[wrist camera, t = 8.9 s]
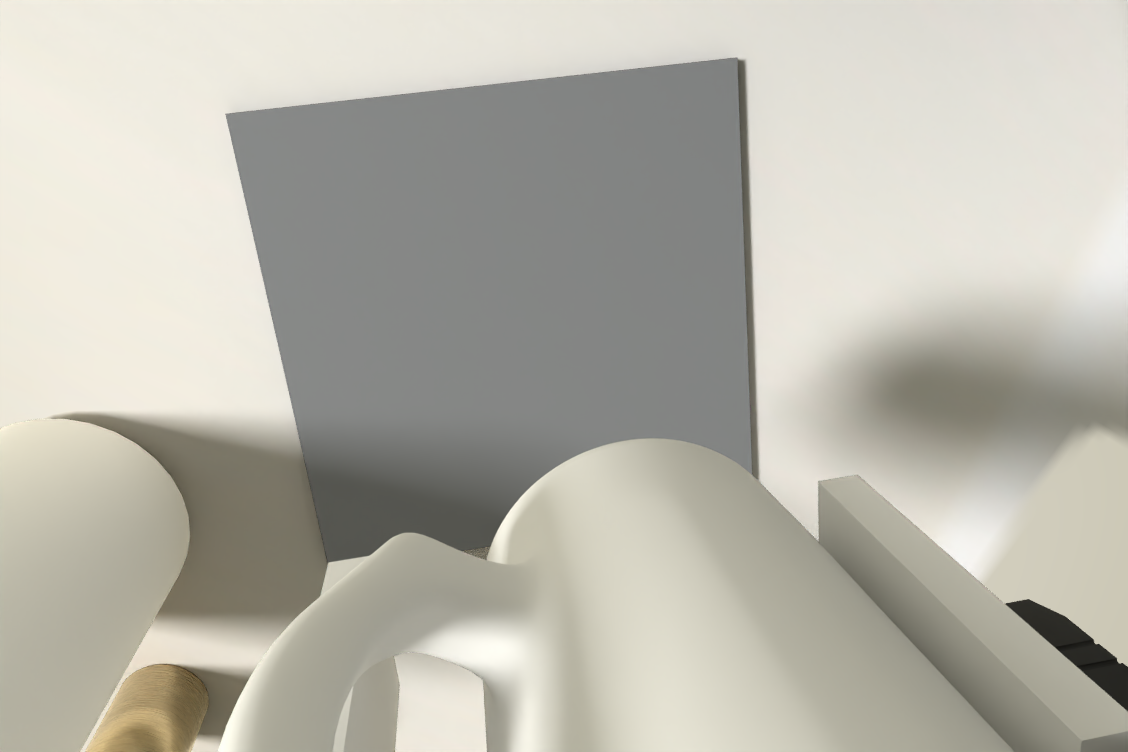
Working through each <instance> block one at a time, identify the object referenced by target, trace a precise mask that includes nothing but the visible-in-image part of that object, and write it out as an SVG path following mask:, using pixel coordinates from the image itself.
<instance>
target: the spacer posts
mask: <svg viewBox="0 0 1128 752" xmlns="http://www.w3.org/2000/svg"><path fill="white" fill-rule="evenodd" d="M208 703H209V698H208V693H207V690H206V688H205V686H204V684H203V683H202V682H201V680H200V679H199V678H198V677H197V676H195V675H194V674H193V673H191V672H189V671H188V670H186V669H183V668H181V667H177V666H173V665H152V666H147V667H144V668H142V669H139V670H137V671H136V672H134V673H133V674H131V675H130V676H129V677H128V678H127V679H126V680H125V681H124V683H123V684H122V686H121V688H120V690H119V691H118V693H117V695H116V697H115V699H114V700H113V702H112V704H111V706H110V708H109V709H108V711H107V713H106V715H105V717H104V718H103V720H102V722H101V724H100V726H99V728H98V729H97V731H96V733H95V735H94V737H93V738H92V740H91V742H90V744H89V746H88V747H87V749H86V751H85V752H191V750H192V748H193V745H194V743H195V740H196V737H197V735H198V732H199V730H200V727H201V725H202V722H203V719H204V717H205V714H206V712H207V709H208Z"/></svg>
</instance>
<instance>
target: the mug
mask: <svg viewBox="0 0 1128 752" xmlns="http://www.w3.org/2000/svg"><path fill="white" fill-rule="evenodd" d="M407 652H412V653H422V654H427V655H431V656H434V657H438V658H441V659H443V660H446V661H449V662H451V663H454V664H457V665H459V666H461V667H463V668H465V669H467V670H469V671H472V672H473V673H474V674H476V675H477V676H478V677H480V678H481V679H483V688H484V706H485V724H486V742H487V752H1014V750H1013V749H1012V748H1011V747H1010V746H1009V745H1008V744H1007V743H1006V742H1005V741H1004V740H1003V739H1002V738H1001V737H1000V736H999V735H998V733H997V732H996V731H995V730H994V729H993V728H992V727H991V726H990V725H989V724H988V723H987V722H986V721H985V720H984V719H983V718H982V716H981V715H980V714H979V713H978V712H977V711H976V710H975V709H974V708H973V707H972V706H971V705H970V704H969V703H968V702H967V701H966V699H965V698H964V697H963V696H962V695H961V694H960V693H959V692H958V691H957V690H956V689H955V688H954V687H953V686H952V685H951V684H950V682H949V681H948V680H947V679H946V678H945V677H944V676H943V675H942V674H941V673H940V672H939V671H938V670H937V669H936V668H935V666H934V665H933V664H932V663H931V662H930V661H929V660H928V659H927V658H926V657H925V656H924V655H923V654H922V653H921V652H920V650H919V649H918V648H917V647H916V646H915V645H914V644H913V643H912V642H911V641H910V640H909V639H908V638H907V637H906V636H905V634H904V633H903V632H902V631H901V630H900V629H899V628H898V627H897V626H896V625H895V624H894V623H893V622H892V621H891V620H890V618H889V617H888V616H887V615H886V614H885V613H884V612H883V611H882V610H881V609H880V608H879V607H878V606H877V604H876V603H875V602H874V601H873V600H872V599H871V598H870V597H869V596H868V595H867V594H866V593H865V592H864V590H863V589H862V588H861V587H860V586H859V585H858V584H857V583H856V582H855V581H854V580H853V579H852V577H851V576H850V575H849V574H848V573H847V572H846V571H845V570H844V569H843V568H842V567H841V566H840V564H839V563H838V562H837V561H836V560H835V559H834V558H833V557H832V556H831V555H830V554H829V553H828V551H827V550H826V549H825V548H824V547H823V546H822V545H821V544H820V543H819V542H818V541H817V540H816V539H815V538H814V537H813V536H812V535H811V534H810V533H809V532H808V531H807V530H806V529H805V528H804V527H803V526H802V525H801V524H800V523H799V522H798V521H797V520H796V519H795V517H794V516H793V515H792V514H791V513H790V512H789V511H788V510H787V509H786V508H785V507H784V506H783V505H782V504H781V503H780V502H779V501H778V500H777V499H776V498H775V497H774V496H773V495H772V494H771V493H770V492H769V491H768V490H767V489H766V488H765V487H764V486H763V485H762V484H761V483H760V482H759V481H758V480H757V479H756V478H755V477H754V476H753V475H751V474H750V473H749V472H748V471H747V470H746V469H744V468H743V467H742V466H740V465H739V464H737V463H736V462H734V461H733V460H731V459H729V458H728V457H726V456H724V455H722V454H720V453H718V452H716V451H713V450H711V449H708V448H706V447H703V446H700V445H696V444H693V443H689V442H684V441H679V440H672V439H658V438H646V439H633V440H626V441H620V442H615V443H611V444H607V445H603V446H600V447H597V448H594V449H591V450H589V451H586V452H584V453H581V454H579V455H577V456H575V457H573V458H571V459H569V460H567V461H565V462H564V463H562V464H560V465H559V466H557V467H555V468H554V469H552V470H551V471H550V472H548V473H547V474H545V475H544V476H543V477H542V478H540V479H539V480H538V481H537V482H536V483H534V484H533V485H532V486H531V487H530V488H529V489H528V490H527V491H526V492H525V493H524V494H523V495H522V496H521V497H520V498H519V500H518V501H517V502H516V503H515V504H514V506H513V507H512V508H511V510H510V511H509V513H508V514H507V515H506V517H505V519H504V520H503V522H502V523H501V525H500V527H499V529H498V531H497V533H496V535H495V537H494V539H493V542H492V544H491V547H490V550H489V552H488V556H487V559H486V560H485V559H481V558H478V557H476V556H473V555H470V554H467V553H465V552H462V551H460V550H457V549H455V548H453V547H450V546H448V545H446V544H444V543H442V542H439V541H437V540H435V539H433V538H430V537H427V536H425V535H421V534H417V533H402V534H399V535H397V536H394V537H392V538H391V539H389V540H388V541H387V542H386V543H385V544H383V545H382V546H381V547H380V548H379V549H377V550H376V551H375V552H374V553H373V554H371V555H370V556H369V557H368V558H367V559H365V560H364V561H363V562H362V563H360V564H359V565H358V566H357V567H356V568H354V569H353V570H352V571H351V572H349V573H348V574H347V575H346V576H345V577H343V578H342V579H341V580H340V581H338V582H337V583H336V584H335V585H334V586H332V587H331V588H330V589H329V590H328V591H326V592H325V593H324V594H323V595H322V596H320V597H319V598H318V599H317V600H316V601H314V602H313V603H312V604H311V605H310V606H308V607H307V608H306V609H305V610H304V611H303V612H302V613H301V614H299V615H298V616H297V617H296V618H295V619H294V620H293V621H292V622H291V623H290V625H289V626H288V627H287V628H286V629H285V630H284V631H283V632H282V633H281V635H280V636H279V637H278V638H277V639H276V640H275V641H274V643H273V644H272V645H271V647H270V648H269V649H268V651H267V652H266V653H265V655H264V656H263V658H262V659H261V661H260V662H259V664H258V665H257V667H256V668H255V670H254V672H253V673H252V675H251V677H250V678H249V680H248V682H247V684H246V686H245V687H244V689H243V691H242V693H241V695H240V697H239V699H238V701H237V703H236V705H235V707H234V710H233V712H232V714H231V716H230V719H229V721H228V723H227V726H226V729H225V731H224V734H223V737H222V740H221V743H220V746H219V750H218V752H333V746H334V739H335V733H336V730H337V726H338V722H339V718H340V715H341V712H342V709H343V706H344V704H345V701H346V699H347V697H348V695H349V693H350V691H351V689H352V687H353V685H354V684H355V682H356V681H357V679H358V678H359V677H360V676H361V675H362V674H363V673H364V672H365V671H366V670H367V669H368V668H369V667H371V666H372V665H374V664H376V663H378V662H380V661H382V660H384V659H387V658H389V657H391V656H395V655H398V654H401V653H407Z"/></svg>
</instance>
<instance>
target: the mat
mask: <svg viewBox="0 0 1128 752" xmlns="http://www.w3.org/2000/svg"><path fill="white" fill-rule="evenodd" d="M226 118H227V123H228V127H229V131H230V136H231V140H232V145H233V149H234V153H235V158H236V162H237V166H238V171H239V175H240V180H241V184H242V188H243V193H244V197H245V202H246V206H247V210H248V215H249V219H250V224H251V228H252V232H253V237H254V241H255V245H256V250H257V254H258V259H259V263H260V267H261V272H262V276H263V281H264V285H265V289H266V294H267V298H268V303H269V307H270V311H271V316H272V320H273V324H274V329H275V333H276V338H277V342H278V346H279V351H280V355H281V360H282V364H283V368H284V373H285V377H286V382H287V386H288V390H289V395H290V399H291V403H292V408H293V412H294V417H295V421H296V425H297V430H298V434H299V439H300V443H301V447H302V452H303V456H304V461H305V465H306V469H307V474H308V478H309V482H310V487H311V491H312V496H313V500H314V504H315V509H316V513H317V518H318V522H319V526H320V531H321V535H322V540H323V544H324V548H325V553H326V557H327V561H328V563H329V562H335V561H341V560H347V559H353V558H359V557H365V556H370V555H371V554H373V553H374V552H375V551H376V550H377V549H379V548H380V547H381V546H382V545H383V544H385V543H386V542H387V541H388V540H389V539H391V538H392V537H394V536H397V535H399V534H402V533H417V534H421V535H425V536H427V537H430V538H433V539H435V540H437V541H439V542H442V543H444V544H446V545H448V546H450V547H453V548H455V549H457V550H460V551H465V550H471V549H477V548H483V547H489V546H491V544H492V542H493V539H494V537H495V535H496V533H497V531H498V529H499V527H500V525H501V523H502V522H503V520H504V519H505V517H506V515H507V514H508V513H509V511H510V510H511V508H512V507H513V506H514V504H515V503H516V502H517V501H518V500H519V498H520V497H521V496H522V495H523V494H524V493H525V492H526V491H527V490H528V489H529V488H530V487H531V486H532V485H533V484H534V483H536V482H537V481H538V480H539V479H540V478H542V477H543V476H544V475H545V474H547V473H548V472H550V471H551V470H552V469H554V468H555V467H557V466H559V465H560V464H562V463H564V462H565V461H567V460H569V459H571V458H573V457H575V456H577V455H579V454H581V453H584V452H586V451H589V450H591V449H594V448H597V447H600V446H603V445H607V444H611V443H615V442H620V441H626V440H633V439H646V438H658V439H672V440H679V441H684V442H689V443H693V444H696V445H700V446H703V447H706V448H708V449H711V450H713V451H716V452H718V453H720V454H722V455H724V456H726V457H728V458H729V459H731V460H733V461H734V462H736V463H737V464H739V465H740V466H742V467H743V468H744V469H746V470H747V471H748V472H749V473H750V474H751V475H752V454H751V426H750V398H749V370H748V342H747V315H746V287H745V259H744V231H743V203H742V175H741V147H740V119H739V91H738V63H737V58H728V59H719V60H710V61H701V62H692V63H683V64H674V65H665V66H656V67H647V68H638V69H629V70H619V71H610V72H601V73H592V74H583V75H574V76H565V77H556V78H547V79H538V80H529V81H519V82H510V83H501V84H492V85H483V86H474V87H465V88H456V89H447V90H438V91H429V92H419V93H410V94H401V95H392V96H383V97H374V98H365V99H356V100H347V101H338V102H329V103H319V104H310V105H301V106H292V107H283V108H274V109H265V110H256V111H247V112H238V113H229V114H226Z"/></svg>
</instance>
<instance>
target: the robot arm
mask: <svg viewBox="0 0 1128 752" xmlns="http://www.w3.org/2000/svg"><path fill="white" fill-rule="evenodd" d="M818 515H819V543H820V544H821V545H822V546H823V547H824V548H825V549H826V550H827V551H828V553H829V554H830V555H831V556H832V557H833V558H834V559H835V560H836V561H837V562H838V563H839V564H840V566H841V567H842V568H843V569H844V570H845V571H846V572H847V573H848V574H849V575H850V576H851V577H852V579H853V580H854V581H855V582H856V583H857V584H858V585H859V586H860V587H861V588H862V589H863V590H864V592H865V593H866V594H867V595H868V596H869V597H870V598H871V599H872V600H873V601H874V602H875V603H876V604H877V606H878V607H879V608H880V609H881V610H882V611H883V612H884V613H885V614H886V615H887V616H888V617H889V618H890V620H891V621H892V622H893V623H894V624H895V625H896V626H897V627H898V628H899V629H900V630H901V631H902V632H903V633H904V634H905V636H906V637H907V638H908V639H909V640H910V641H911V642H912V643H913V644H914V645H915V646H916V647H917V648H918V649H919V650H920V652H921V653H922V654H923V655H924V656H925V657H926V658H927V659H928V660H929V661H930V662H931V663H932V664H933V665H934V666H935V668H936V669H937V670H938V671H939V672H940V673H941V674H942V675H943V676H944V677H945V678H946V679H947V680H948V681H949V682H950V684H951V685H952V686H953V687H954V688H955V689H956V690H957V691H958V692H959V693H960V694H961V695H962V696H963V697H964V698H965V699H966V701H967V702H968V703H969V704H970V705H971V706H972V707H973V708H974V709H975V710H976V711H977V712H978V713H979V714H980V715H981V716H982V718H983V719H984V720H985V721H986V722H987V723H988V724H989V725H990V726H991V727H992V728H993V729H994V730H995V731H996V732H997V733H998V735H999V736H1000V737H1001V738H1002V739H1003V740H1004V741H1005V742H1006V743H1007V744H1008V745H1009V746H1010V747H1011V748H1012V749H1013V750H1014V752H1128V667H1127V666H1126V665H1124V664H1123V663H1121V664H1119V663H1118V662H1117V658H1116V657H1114V656H1113V655H1112V654H1111V653H1110V652H1108V651H1107V650H1106V649H1104V648H1103V647H1102V646H1101V645H1100V644H1095V643H1094V640H1093V639H1092V638H1091V637H1090V636H1089V635H1087V634H1086V633H1085V632H1084V631H1082V630H1081V629H1080V628H1079V627H1078V626H1076V625H1075V624H1074V623H1072V622H1071V621H1070V620H1069V619H1068V618H1066V617H1065V616H1063V615H1061V614H1059V613H1057V612H1054V611H1052V610H1050V609H1048V608H1046V607H1044V606H1042V605H1039V604H1037V603H1035V602H1033V601H1031V600H1029V599H1027V600H1022V601H1017V602H1011V603H1006V604H1004V603H1003V602H1002V601H1001V600H1000V599H999V598H998V597H996V596H995V595H994V594H993V593H992V592H991V591H990V590H988V589H987V588H986V587H985V586H984V585H983V584H982V583H980V582H979V581H978V580H977V579H976V578H975V577H974V576H972V575H971V574H970V573H969V572H968V571H967V570H966V569H964V568H963V567H962V566H961V565H960V564H959V563H958V562H957V561H955V560H954V559H953V558H952V557H951V556H950V555H949V554H947V553H946V552H945V551H944V550H943V549H942V548H941V547H939V546H938V545H937V544H936V543H935V542H934V541H933V540H931V539H930V538H929V537H928V536H927V535H926V534H925V533H923V532H922V531H921V530H920V529H919V528H918V527H917V526H915V525H914V524H913V523H912V522H911V521H910V520H909V519H907V518H906V517H905V516H904V515H903V514H902V513H901V512H899V511H898V510H897V509H896V508H895V507H894V506H893V505H891V504H890V503H889V502H888V501H887V500H886V499H885V498H883V497H882V496H881V495H880V494H879V493H878V492H877V491H875V490H874V489H873V488H872V487H871V486H870V485H869V484H867V483H866V482H865V481H864V480H863V479H862V478H861V477H860V476H858V475H853V476H847V477H841V478H835V479H829V480H823V481H818ZM368 557H369V556H365V557H359V558H353V559H347V560H341V561H335V562H329V563H328V566H327V570H326V574H325V579H324V583H323V587H322V591H321V595H320V596H322V595H323V594H324V593H325V592H326V591H328V590H329V589H330V588H331V587H332V586H334V585H335V584H336V583H337V582H338V581H340V580H341V579H342V578H343V577H345V576H346V575H347V574H348V573H349V572H351V571H352V570H353V569H354V568H356V567H357V566H358V565H359V564H360V563H362V562H363V561H364V560H365V559H367V558H368ZM399 687H400V684H399V679H398V674H397V670H396V665H395V660H394V656H391V657H389V658H387V659H384V660H382V661H380V662H378V663H376V664H374V665H372V666H371V667H369V668H368V669H367V670H366V671H365V672H364V673H363V674H362V675H361V676H360V677H359V678H358V679H357V681H356V682H355V684H354V685H353V687H352V689H351V691H350V693H349V695H348V697H347V699H346V701H345V704H344V706H343V709H342V712H341V715H340V718H339V722H338V726H337V730H336V733H335V739H334V746H333V752H395V744H396V730H397V715H398V701H399Z"/></svg>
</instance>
